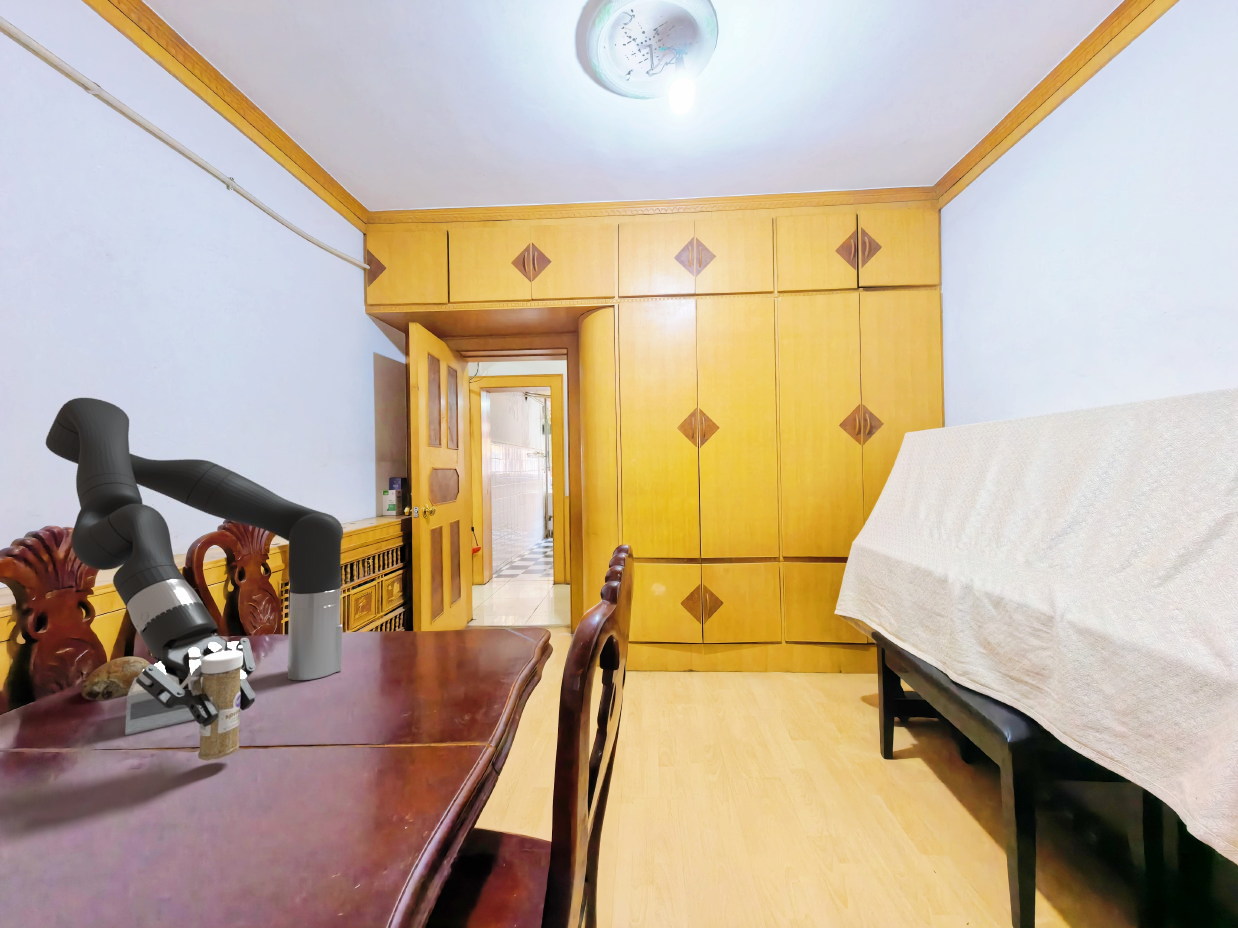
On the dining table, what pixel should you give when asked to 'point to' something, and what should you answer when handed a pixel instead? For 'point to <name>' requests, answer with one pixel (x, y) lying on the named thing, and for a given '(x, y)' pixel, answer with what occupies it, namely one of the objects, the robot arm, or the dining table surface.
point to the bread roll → (113, 678)
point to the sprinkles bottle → (221, 703)
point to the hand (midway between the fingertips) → (230, 713)
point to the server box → (151, 711)
